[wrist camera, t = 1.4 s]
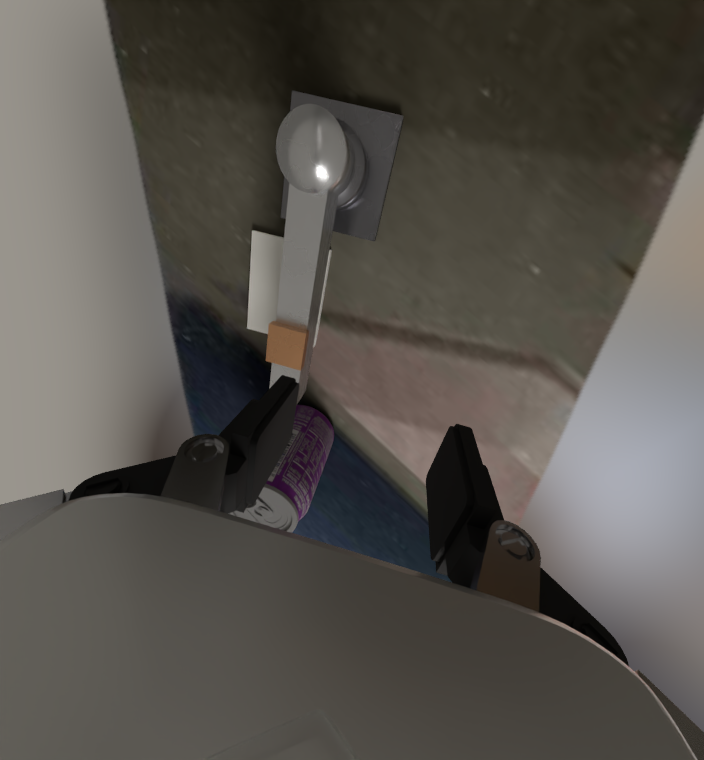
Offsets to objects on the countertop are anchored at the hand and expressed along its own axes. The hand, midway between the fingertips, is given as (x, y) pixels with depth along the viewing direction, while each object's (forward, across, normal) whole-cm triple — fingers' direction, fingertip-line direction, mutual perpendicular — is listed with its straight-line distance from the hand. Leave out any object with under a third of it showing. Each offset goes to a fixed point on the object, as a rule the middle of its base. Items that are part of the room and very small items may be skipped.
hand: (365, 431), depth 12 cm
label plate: (+18, +10, 0) cm, 20 cm away
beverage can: (+18, +6, +15) cm, 24 cm away
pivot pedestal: (+18, +7, -10) cm, 21 cm away
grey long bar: (+14, +7, -2) cm, 15 cm away
